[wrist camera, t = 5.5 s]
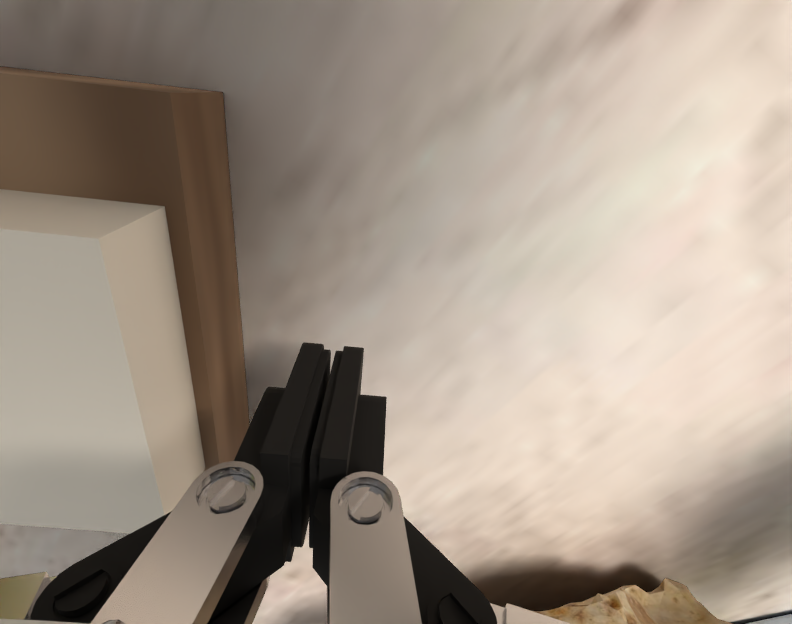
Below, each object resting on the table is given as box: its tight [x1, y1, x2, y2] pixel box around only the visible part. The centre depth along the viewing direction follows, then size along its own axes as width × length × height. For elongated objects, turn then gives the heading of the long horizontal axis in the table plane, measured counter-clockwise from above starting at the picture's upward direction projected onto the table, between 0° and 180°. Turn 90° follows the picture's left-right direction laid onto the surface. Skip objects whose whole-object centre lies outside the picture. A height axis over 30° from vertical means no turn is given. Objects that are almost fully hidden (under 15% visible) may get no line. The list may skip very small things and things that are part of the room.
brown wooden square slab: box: [0, 66, 250, 471], centre depth 13 cm, size 14×14×3 cm
